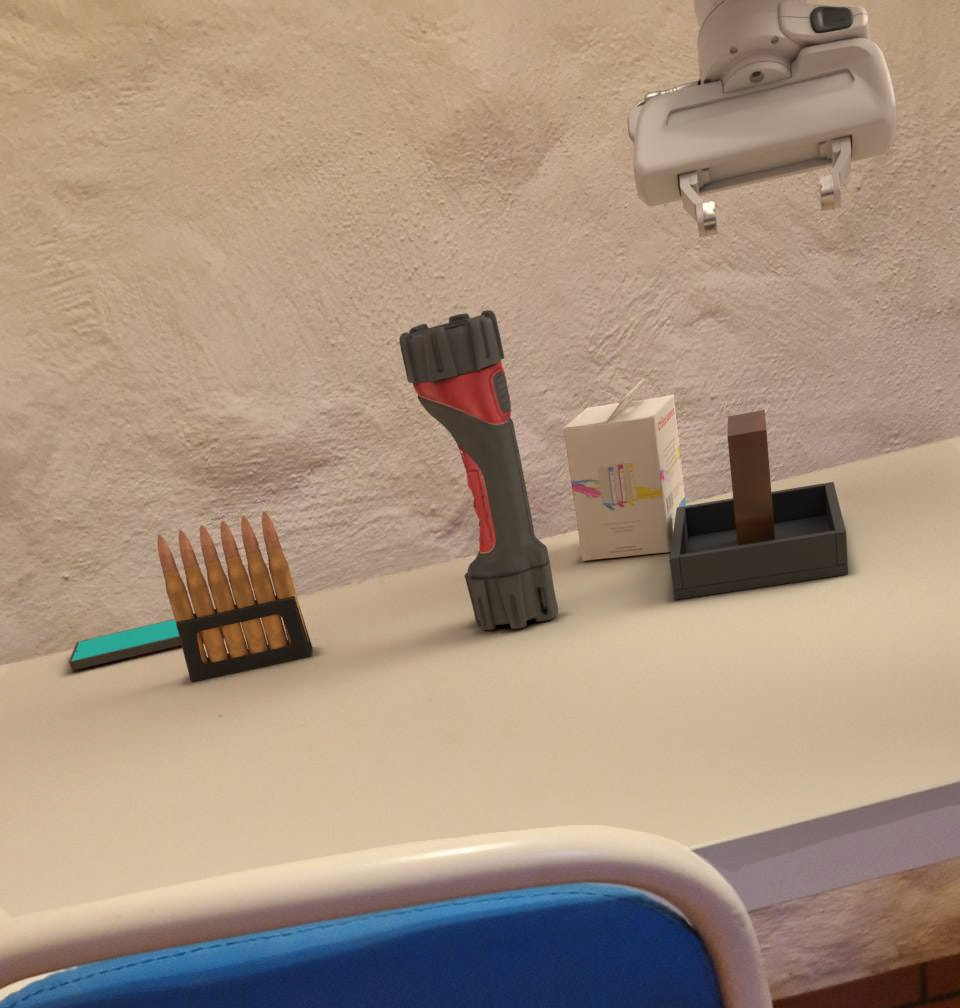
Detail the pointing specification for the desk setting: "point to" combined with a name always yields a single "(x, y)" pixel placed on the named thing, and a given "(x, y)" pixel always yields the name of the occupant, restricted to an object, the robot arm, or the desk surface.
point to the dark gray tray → (758, 544)
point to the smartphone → (125, 644)
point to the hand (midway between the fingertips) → (768, 217)
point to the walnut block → (750, 477)
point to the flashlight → (484, 464)
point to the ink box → (625, 476)
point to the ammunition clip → (227, 610)
